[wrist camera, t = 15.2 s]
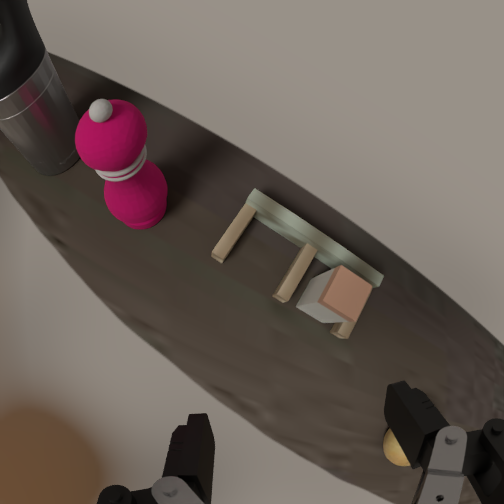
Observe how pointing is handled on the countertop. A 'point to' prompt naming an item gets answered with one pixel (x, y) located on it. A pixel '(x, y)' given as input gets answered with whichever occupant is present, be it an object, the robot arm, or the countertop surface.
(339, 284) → the plug
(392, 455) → the onion
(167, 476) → the robot arm
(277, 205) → the comb rack
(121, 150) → the pepper mill
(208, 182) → the countertop surface
